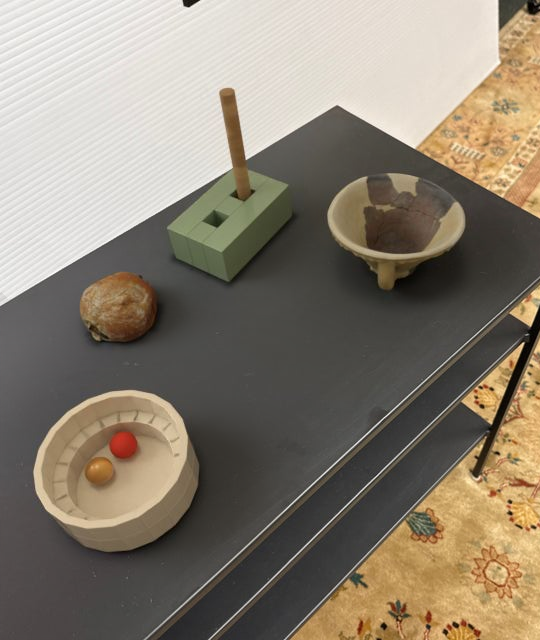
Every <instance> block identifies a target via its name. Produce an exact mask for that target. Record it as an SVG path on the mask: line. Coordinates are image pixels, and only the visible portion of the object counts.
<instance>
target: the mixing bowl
mask: <svg viewBox="0 0 540 640" xmlns="http://www.w3.org/2000/svg"><path fill="white" fill-rule="evenodd" d="M119 432H130V433H131V434H133V435H134V436H135V437H136V439H137V444H138V445H137V450H136V451H135V453H134V454H133V455H132V456H131V457H129V458H125V459H120V458H117V457H115V456H114V455H113V454H112V453H111V451H110V441H111V439H112V437H113V436H114V435H115V434H117V433H119ZM194 446H195V445H194V444H193V441H192V439H191V436H190V433H189V431H188V429H187V426H186V424H185V421H184V419H183V418H182V416H181V415H180V413H178V411H177V410H176V409H175V407H174V406H173V404H171V403H170V402H168V401H167V400H165V399H163V398H161V397H159V396H158V395H156V394H155V393H149V392H147V391H141V390H136V389H126V390H115V391H108V392H104V393H102V394H99V395H97V396H93V397H90V398H87V399H86V400H84V401H82V402H80V403H79V404H78V405H76V406H75V407H73V408H70V410H68V411H67V412H65V414H64V415H63V416H61V418H60V419H59V420H58V421H57V422H56V423H55V424H54V425H53V426H52V427H51V428H50V429H49V430H48V432H47V434H46V436H45V437H44V439H43V441H42V443H41V444H40V446H39V447H38V450H37V454H36V459H35V463H34V466H33V467H34V468H33V479H34V480H33V481H34V487H35V493H36V496H37V497H38V498H39V501H40V502H41V504H42V506H43V507H44V510H45V511H46V512H47V513H48V514H49V515H50V517H52V519H54V521H55V522H56V523H57V524H58V525H59V526H60V527H61V528H62V530H64V532H65V533H66V534H67V535H68V536H70V537H71V538H72V539H73V540H75V541H77V542H78V543H79V544H80V545H82V546H83V547H86V548H90V549H93V550H98V551H100V552H106V553H112V552H122V551H132V550H134V549H137V548H140V547H142V546H144V545H147V544H149V543H153V542H155V541H156V540H158V538H160V537H161V536H163V535H164V534H165V533H167V532H168V531H169V530H171V529H172V528H174V526H176V524H177V523H178V522H179V521H180V519H181V518H182V517H183V516H184V514H185V513H186V512H187V510H188V509H190V507H191V504H192V502H193V499H194V497H195V494H196V492H197V489H198V487H199V476H200V475H199V473H200V462H199V459H198V455H197V453H196V449H195V447H194ZM95 457H105V458H107V459H109V460H110V461H111V463H112V464H113V468H114V472H113V475H112V477H111V479H110V480H109V481H108V482H106V483H104V484H102V485H95V484H92V483H90V482H89V481H88V480H87V479H86V477H85V467H86V465H87V463H88V462H89V461H90V460H91V459H93V458H95Z"/></svg>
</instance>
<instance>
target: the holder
mask: <svg viewBox="0 0 540 640" xmlns="http://www.w3.org/2000/svg"><path fill="white" fill-rule="evenodd" d="M248 176H249V182H250V188H251V194H252V195H251V196H250V197H249V198H248V199H247V200H246V201H245V202H244V201H241V200H239V199H238V194H237V188H236V183H235V177H234V172H233V167H232V168H231V169H230V170H229V171H228V172H226V173H225V175H223V176H222V177H221V178H220V179H219V180H218V181H217V182H215V183H214V184H213V185H212V186H211V187H210V188H209V189H208V190H207V191H206V192H205V193H203V194H202V195H201V196H200V197H199V198H198V199H197V200H196V201H195V202H193V203H192V204H191V205H190V206H189V207H188V208H187V209H185V210H184V211H183V212H182V213H181V214H180V215H179V216H178V217H176V219H174V221H173V222H171V223H170V224H169V225H168V226H167V227H166V230H167V233H168V236H169V239H170V243H171V246H172V249H173V253H174V256H175V258H176V259H177V260H180V261H182V262H184V263H186V264H188V265H190V266H192V267H195V268H197V269H199V270H202V271H203V272H206V273H207V274H210V275H212V276H214V277H216V278H218V279H221V280H223V281H225V282H227V283H230V282H231V281H232V280H233V279H234V278H235V277H236V275H238V274H239V273H240V271H242V269H243V268H244V267H245V266H246V265H247V264H248V263H249V262H250V261H251V260H252V259H253V258H254V256H256V255H257V253H259V252H260V251H261V249H262V248H263V247H264V246H265V245H266V244H267V243H268V242H269V241H270V240H271V239H272V238H273V237H274V236H275V235H276V234H277V233H278V232H279V231H280V229H281V228H282V227H283V226H284V225H285V224H286V223H287V222H288V221H289V220H290V219H291V218H292V217H293V209H292V201H291V191H290V184H288V183H285V182H283V181H279V180H277V179H274V178H272V177H269V176H267V175H264V174H261V173H258V172H256V171H253V170H250V169H248Z"/></svg>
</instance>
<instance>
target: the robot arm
mask: <svg viewBox="0 0 540 640" xmlns="http://www.w3.org/2000/svg"><path fill="white" fill-rule="evenodd" d="M200 1H201V0H182V5H183V7H185V8H191V7H192V6H194V5H195V4H196V5H197V3H198V2H200Z"/></svg>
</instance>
